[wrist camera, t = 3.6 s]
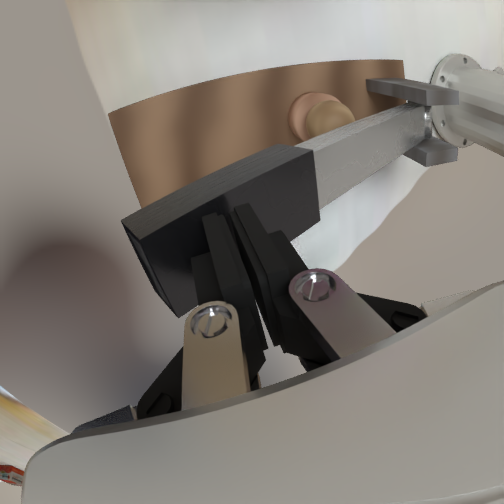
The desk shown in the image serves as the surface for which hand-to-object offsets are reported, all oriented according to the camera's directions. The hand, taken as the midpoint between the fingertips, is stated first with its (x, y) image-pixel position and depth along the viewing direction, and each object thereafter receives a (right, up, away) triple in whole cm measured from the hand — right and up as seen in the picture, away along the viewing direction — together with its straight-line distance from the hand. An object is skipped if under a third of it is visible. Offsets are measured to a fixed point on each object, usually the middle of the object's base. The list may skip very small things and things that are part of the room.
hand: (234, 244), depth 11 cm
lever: (+6, +6, +6) cm, 10 cm away
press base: (+3, +12, +15) cm, 19 cm away
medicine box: (-104, -94, +59) cm, 152 cm away
